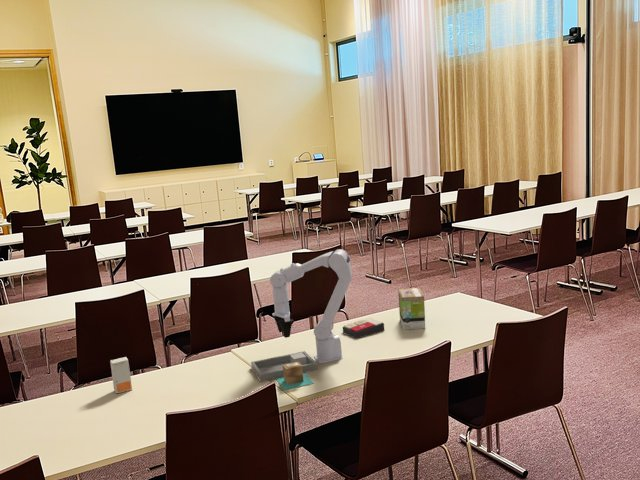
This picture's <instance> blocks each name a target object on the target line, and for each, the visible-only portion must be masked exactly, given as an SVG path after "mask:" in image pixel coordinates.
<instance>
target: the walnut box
mask: <svg viewBox="0 0 640 480" xmlns="http://www.w3.org/2000/svg"><path fill="white" fill-rule="evenodd" d="M283 373H284V381H285V382H286V383H287V385H289V384H294V383H299V382H303V381H304V380H303V369H302V365H301V364H300V363H299V362H294V363H290V364H285V365H283Z"/></svg>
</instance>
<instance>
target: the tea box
mask: <svg viewBox="0 0 640 480" xmlns="http://www.w3.org/2000/svg"><path fill="white" fill-rule="evenodd" d="M425 306H426V305H425V296H424V293H423V292H422V290H421V289H420V287H417V288H416V287H415V288H413V287H412V288H401V289H398V307H399V308H398V309H399V320H400V323H401V327H402V329H403V330H417V329H418V330H419V329H425V328H426V311H425V310H426V309H425Z"/></svg>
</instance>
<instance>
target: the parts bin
mask: <svg viewBox="0 0 640 480" xmlns="http://www.w3.org/2000/svg"><path fill="white" fill-rule="evenodd" d="M298 353H303V354H304V355H305V356H306V360H307V364H306V365H302V369H303V373H308V372H314V371H317V370H318V363H317V361H315V359H313V358H312V356H311V355H310V354H308V353H307V352H306V351H305V350H304V351H300V352H294V353H289V354H283V355H280V356H274V357H270V358H264V359H259V360H254V361H250V365H251V369H252V371H253V372H254V374H255V375H256V376H257V378H258V380H259V382H265V381H271V380H274V379H275V380H276V379H277V378H282V377H284V373H283V365H285V364H290V363H291V360H290V355H293V354H298Z"/></svg>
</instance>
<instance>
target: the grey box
mask: <svg viewBox="0 0 640 480" xmlns="http://www.w3.org/2000/svg"><path fill="white" fill-rule="evenodd" d="M297 353H298V352H297ZM292 354H293V353H292ZM290 360H291V363H294V362H299V363H300V364H301V365H306V364H307V360H306V356H305V355H304V354H303V353H298V354H293V355H290Z"/></svg>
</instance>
